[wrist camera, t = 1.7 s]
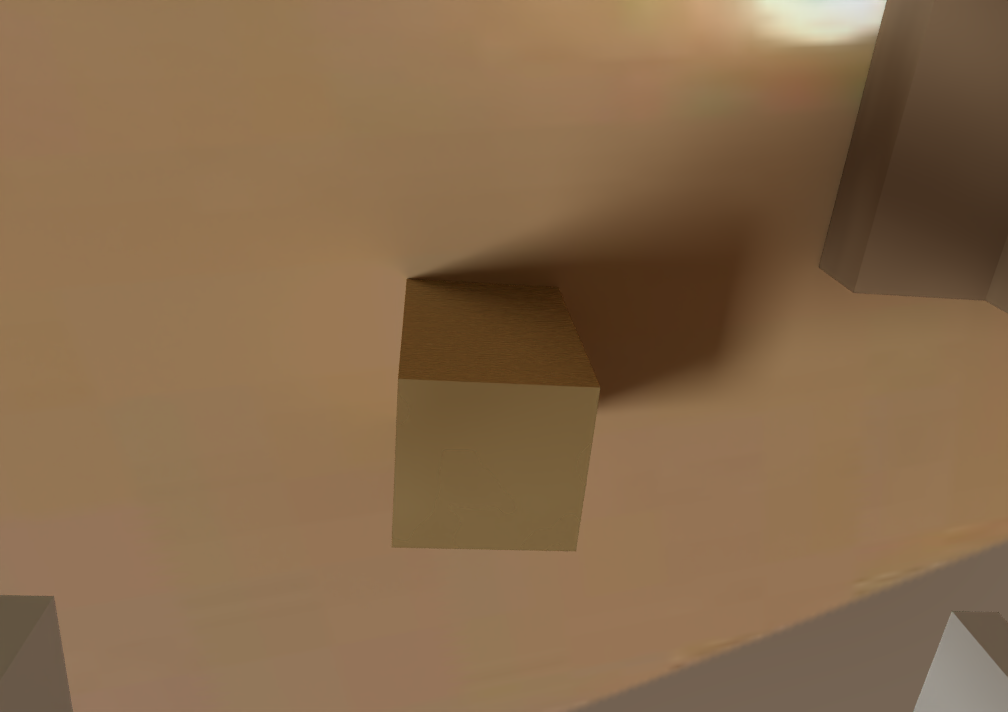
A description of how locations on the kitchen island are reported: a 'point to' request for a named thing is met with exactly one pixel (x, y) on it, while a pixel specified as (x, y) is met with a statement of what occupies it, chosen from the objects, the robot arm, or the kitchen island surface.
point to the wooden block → (491, 419)
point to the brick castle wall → (929, 158)
